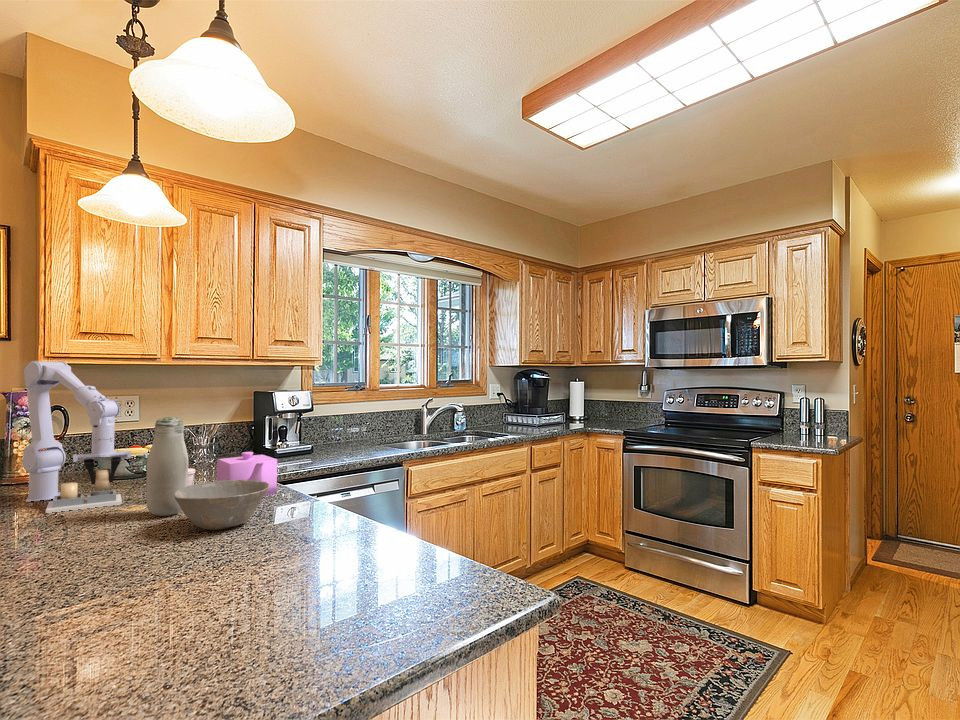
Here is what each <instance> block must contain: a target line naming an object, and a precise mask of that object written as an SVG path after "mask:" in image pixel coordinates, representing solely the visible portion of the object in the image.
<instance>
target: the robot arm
mask: <svg viewBox="0 0 960 720" xmlns="http://www.w3.org/2000/svg"><path fill="white" fill-rule="evenodd" d="M23 372H24V374H23V375H24V382H25V388H26V396H27V404H28V414H29V415H28V417H29V423H30V431H31V432H30V434H31V443H29V444H28V445H27V446H25V447H24V448H23V449H22V450H23V455H22V460H21V464H22V468H23V469H24V470H25V471H26V473H28V475H29V476H28V496H27V498H26V499H25V503H32V502H31V501H34V502H41V501H40V500H44V501H51V499H54V496H60V495H61V491H59V471H60V470H61V469H62V467H63V465H65V462H66V459H67V456H66V452H65V451H64V448H63V443H62V442H59V441H58V440H56V439H55V436H54V429H53V417H52V409H51V401H50V400H51V399H50V391H51V389H52V388H54V387H56V386H58V385H59V384H61V385H63V386H64V387H65V388H66V389H68V390H69V391H71V392H72V393H73V394H74V399H75V401H77V402H78V403H79V404H80V405H82V407H84V408H85V409H86V412H87V415H88V417H89V420H90V421H89V422H90V426H91V452H90V453H80V454H79V453H78V454H73V456H72V457H73V459H72V461H73V463H75V462H77V463H78V462H83V464H84V467H85V469H86V470H87V472H88V474H89V477H90V482H91V483H90V484H91V485H94V472H95V461H98V460H100V461H101V460H110V483H114V477H115V475H116V472H117V469H118V467H119V466H120V463H121V461H122V459H124V458H127V459H129V458H132V450H121V451H120V450H119V451H115V434H116V433H115V430H116V429H115V425H116V424H115V422H116V419H115V418H117V417H118V416H119V414H120V409H121V407H120V404H119V403H118V401H117V400H116V399H109V398H107V397H106V395H103V394H102V393H100V392H99V391H98V390H97V388H96V386H93V385H85V384H84V383H83V382H82V380H80V379H79V378H78V377H77V376H76V375H75V374H74V373H73V371H72V366H70V365H68V363H67V362H66V361H64V360H62V361H61V360H59V361H46V360H45V361H44V360H43V361H41V360H32V361H30V362H29V363H28V364H27V365H26V367H25V368H24V369H23Z"/></svg>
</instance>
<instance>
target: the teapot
mask: <svg viewBox="0 0 960 720" xmlns="http://www.w3.org/2000/svg"><path fill="white" fill-rule="evenodd" d="M223 480H248V481H249V480H256V481H262V482H267V483H268V484H269V485H270V486H269V489H268V491H267V492H266V493H265V495H264V496H268V495H276V494H277V493H278V492H277V491H278V490H277V489H278V486H277V485H278V482H277V481H278V458H274V457H271V456H268V455H265V454H254V452H253V451H243V452H241V456H235V457H225V458H217V460H216V481H223Z"/></svg>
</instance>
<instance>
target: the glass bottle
mask: <svg viewBox="0 0 960 720" xmlns="http://www.w3.org/2000/svg"><path fill="white" fill-rule="evenodd" d="M184 431H185V424H184V422H183V419H181V418H179V417H177V416H175V417H174V416H165V417H161V418H158V419H157V420H156V422H155V424H154V437H153V441H152V444H151V447H150V450H149V452H148V456H147V460H146V487H145V488H146V497H145V498H146V499H145V500H146V507H147V510H148V511H149V513H151V514H152V515H154V516H158V517H168V516H172V515H176V514H178V513H180V512H181V511H182V510H181V508H180V506H179V504H178V503H177V501H176V500H175V498H174V493H175V492H176V491H177V490H179V489H181V488H184V487H187V477H188V468H189V454H188V450H187V445H186V443H185V437H184V436H185V435H184Z"/></svg>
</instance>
